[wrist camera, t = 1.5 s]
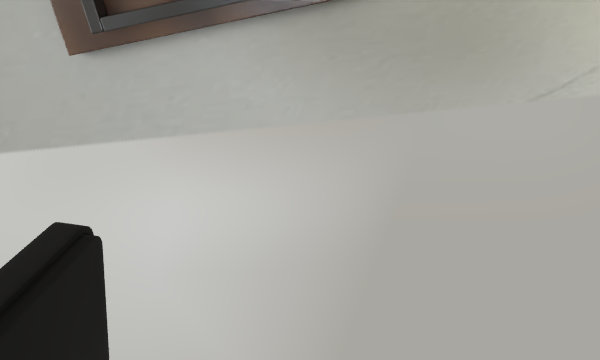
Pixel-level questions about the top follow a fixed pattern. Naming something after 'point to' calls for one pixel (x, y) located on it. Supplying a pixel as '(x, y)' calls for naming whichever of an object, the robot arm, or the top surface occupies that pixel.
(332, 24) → the top surface
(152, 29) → the rectangular tray
